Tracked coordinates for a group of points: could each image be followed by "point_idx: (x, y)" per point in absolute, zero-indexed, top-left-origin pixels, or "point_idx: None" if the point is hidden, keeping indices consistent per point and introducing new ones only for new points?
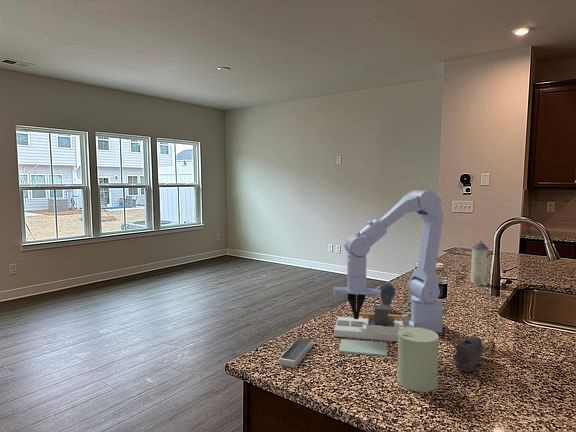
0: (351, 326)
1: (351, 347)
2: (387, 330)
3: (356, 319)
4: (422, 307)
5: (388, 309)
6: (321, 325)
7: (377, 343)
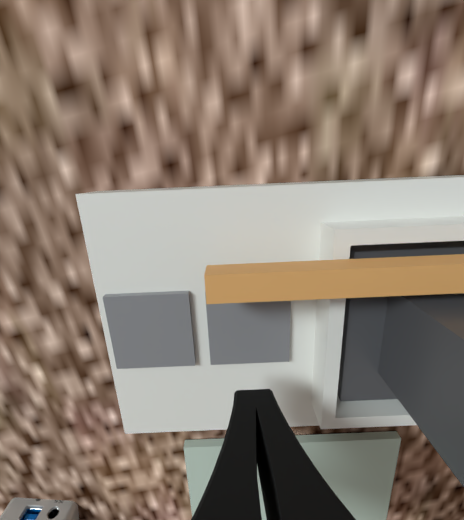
0: (217, 367)
1: None
2: None
3: (237, 228)
4: None
5: None
6: (11, 274)
7: (356, 453)
